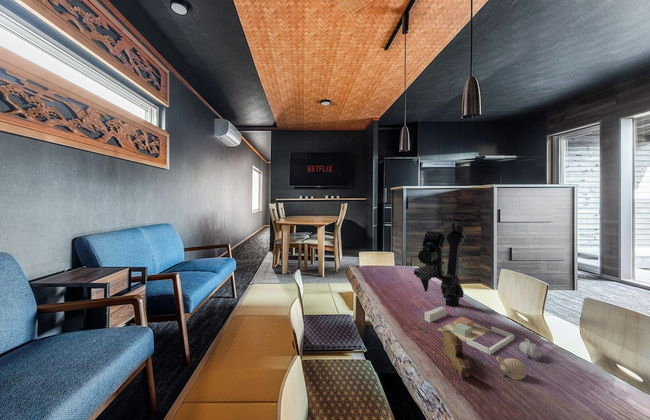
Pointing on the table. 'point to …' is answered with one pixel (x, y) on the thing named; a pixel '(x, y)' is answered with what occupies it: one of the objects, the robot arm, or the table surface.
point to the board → (475, 333)
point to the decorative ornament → (513, 368)
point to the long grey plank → (435, 314)
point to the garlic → (529, 349)
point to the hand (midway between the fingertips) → (435, 294)
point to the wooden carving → (456, 353)
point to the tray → (497, 346)
